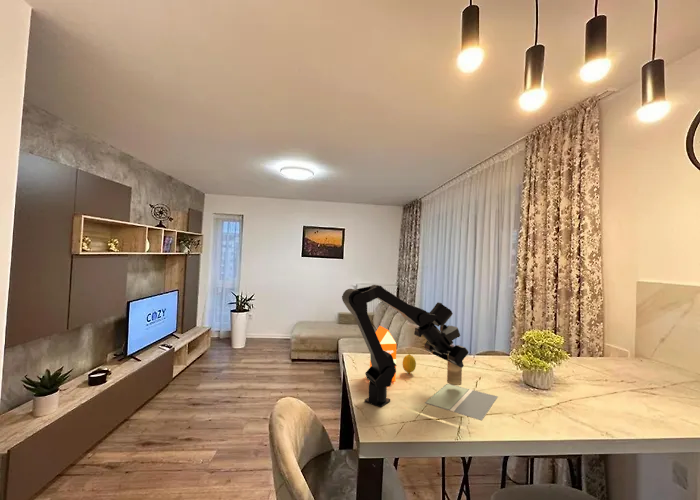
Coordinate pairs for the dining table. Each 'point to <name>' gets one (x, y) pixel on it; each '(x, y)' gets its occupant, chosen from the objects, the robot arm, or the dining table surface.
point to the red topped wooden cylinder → (454, 374)
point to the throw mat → (463, 401)
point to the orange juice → (387, 344)
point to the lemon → (409, 363)
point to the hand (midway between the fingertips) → (457, 364)
